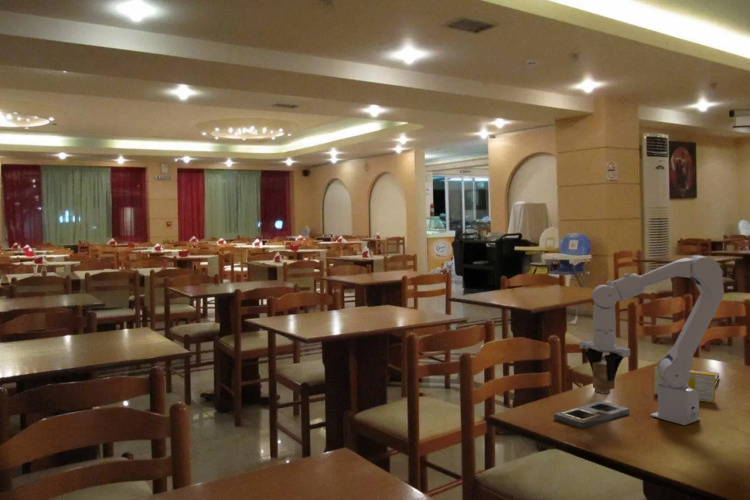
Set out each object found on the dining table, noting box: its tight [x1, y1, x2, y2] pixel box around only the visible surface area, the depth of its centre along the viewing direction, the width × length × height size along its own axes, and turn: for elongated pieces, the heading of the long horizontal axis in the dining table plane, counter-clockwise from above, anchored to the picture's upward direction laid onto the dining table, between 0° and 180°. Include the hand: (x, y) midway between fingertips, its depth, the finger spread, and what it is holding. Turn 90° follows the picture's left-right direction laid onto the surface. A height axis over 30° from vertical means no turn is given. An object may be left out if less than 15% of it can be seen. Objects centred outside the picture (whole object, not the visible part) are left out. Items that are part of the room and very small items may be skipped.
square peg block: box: [592, 361, 616, 391], centre depth 166 cm, size 4×4×7 cm
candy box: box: [653, 366, 716, 404], centre depth 180 cm, size 16×2×8 cm, turn 52°
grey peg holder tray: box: [553, 400, 630, 430], centre depth 164 cm, size 9×20×2 cm, turn 124°
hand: (603, 378), depth 166 cm, fingers closed on square peg block, 4 cm apart
